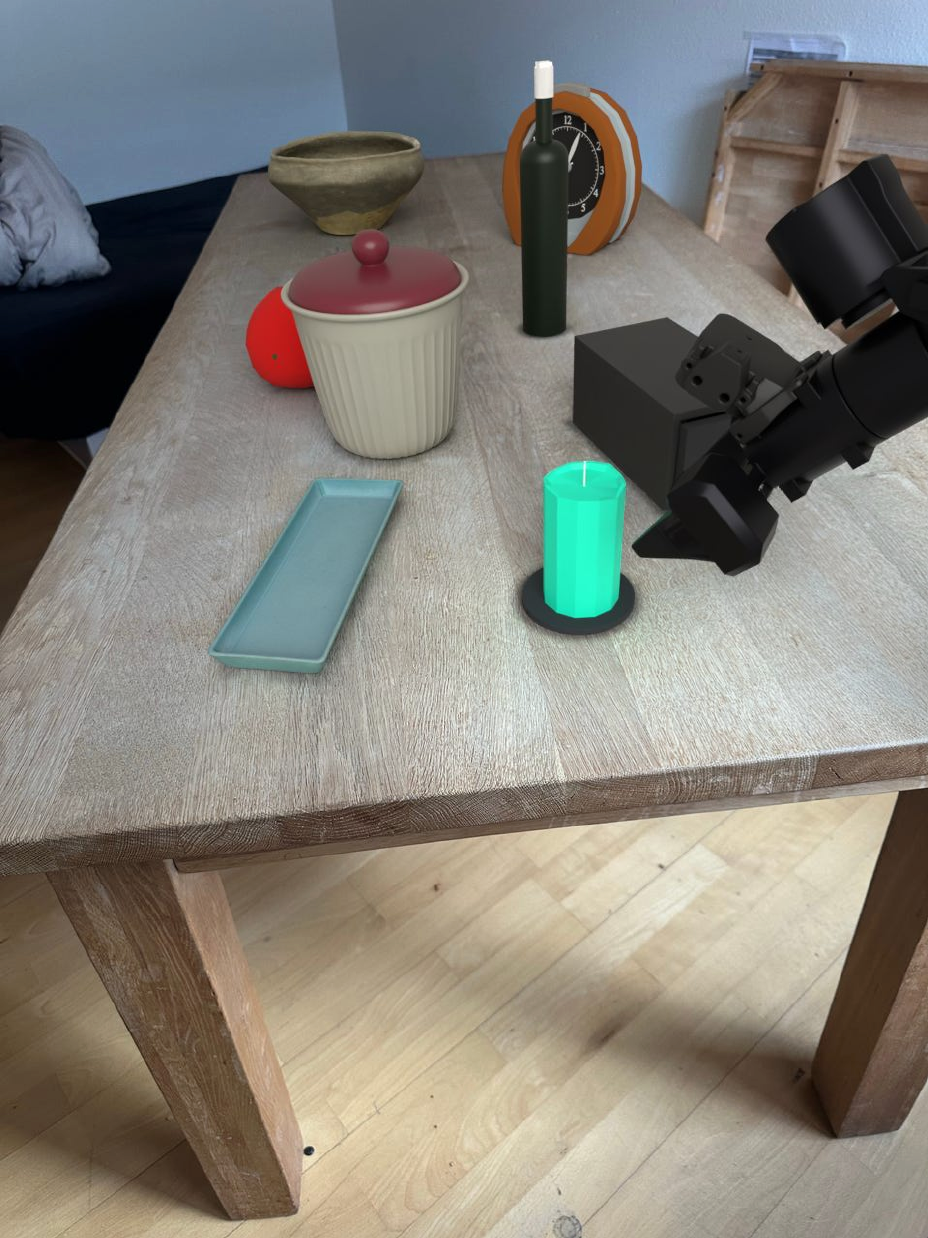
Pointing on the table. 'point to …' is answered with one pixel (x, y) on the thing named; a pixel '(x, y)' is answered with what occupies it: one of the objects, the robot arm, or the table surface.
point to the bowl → (347, 177)
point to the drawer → (699, 438)
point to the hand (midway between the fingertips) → (660, 516)
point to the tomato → (277, 344)
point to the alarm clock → (583, 166)
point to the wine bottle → (544, 218)
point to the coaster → (569, 625)
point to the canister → (382, 343)
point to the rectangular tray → (308, 578)
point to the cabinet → (635, 398)
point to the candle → (582, 537)
